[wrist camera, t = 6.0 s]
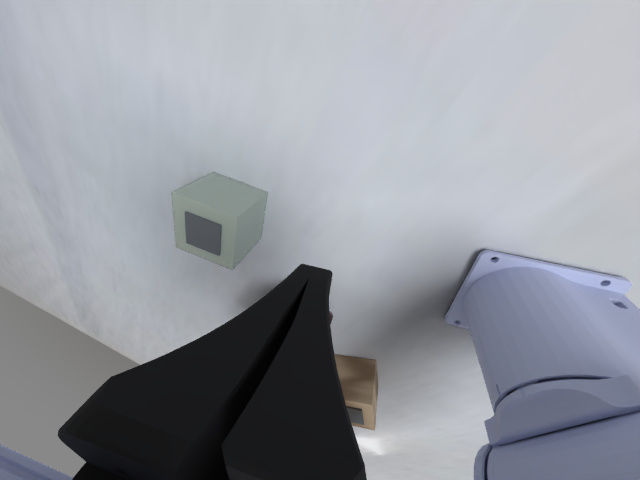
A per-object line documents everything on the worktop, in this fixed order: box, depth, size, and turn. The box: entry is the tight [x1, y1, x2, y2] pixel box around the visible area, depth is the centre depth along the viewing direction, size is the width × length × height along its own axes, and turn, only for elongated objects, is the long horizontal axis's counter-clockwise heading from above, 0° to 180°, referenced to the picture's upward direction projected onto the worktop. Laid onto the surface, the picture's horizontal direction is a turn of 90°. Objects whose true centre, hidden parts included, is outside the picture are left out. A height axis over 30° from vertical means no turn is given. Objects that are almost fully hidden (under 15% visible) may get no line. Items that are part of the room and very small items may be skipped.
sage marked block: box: [172, 172, 268, 270], centre depth 21 cm, size 5×5×5 cm
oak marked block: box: [334, 354, 378, 430], centre depth 29 cm, size 5×5×5 cm
